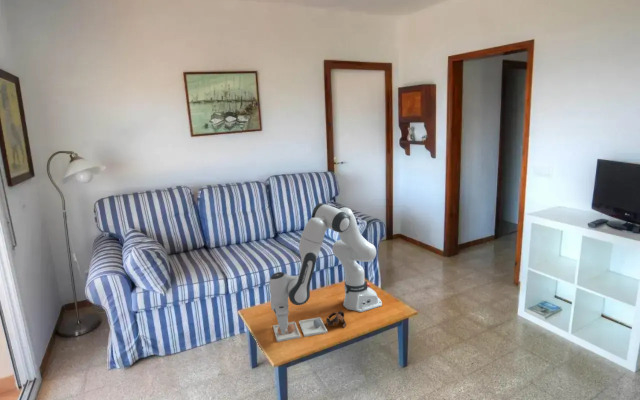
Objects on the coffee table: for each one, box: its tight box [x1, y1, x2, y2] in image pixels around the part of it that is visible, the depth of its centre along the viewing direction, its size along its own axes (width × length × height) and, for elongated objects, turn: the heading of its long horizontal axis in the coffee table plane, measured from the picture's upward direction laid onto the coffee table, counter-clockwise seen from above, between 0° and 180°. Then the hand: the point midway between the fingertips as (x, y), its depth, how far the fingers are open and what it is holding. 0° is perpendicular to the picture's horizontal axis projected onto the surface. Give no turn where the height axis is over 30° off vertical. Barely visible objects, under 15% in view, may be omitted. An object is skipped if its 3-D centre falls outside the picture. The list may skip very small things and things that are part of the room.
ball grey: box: [313, 319, 321, 327], centre depth 203 cm, size 4×4×4 cm
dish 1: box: [272, 321, 302, 343], centre depth 200 cm, size 12×14×2 cm
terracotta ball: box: [287, 324, 295, 332], centre depth 200 cm, size 4×4×4 cm
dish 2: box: [298, 316, 328, 338], centre depth 203 cm, size 12×14×2 cm
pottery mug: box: [326, 310, 347, 329], centre depth 205 cm, size 12×10×8 cm
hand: (281, 328), depth 198 cm, fingers open, 8 cm apart
